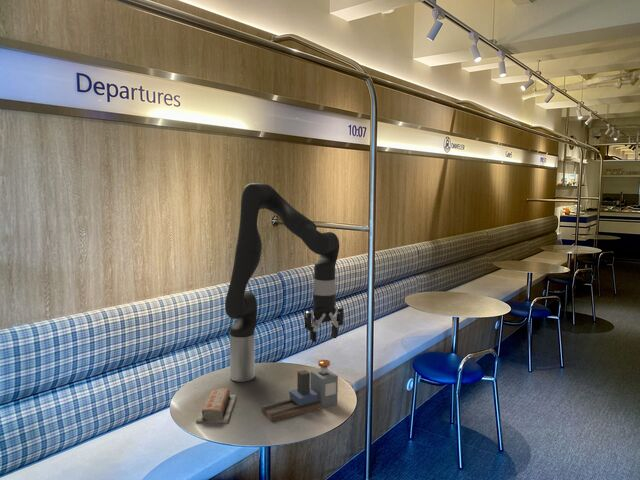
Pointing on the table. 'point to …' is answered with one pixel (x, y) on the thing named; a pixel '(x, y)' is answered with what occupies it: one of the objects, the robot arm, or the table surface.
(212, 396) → the packaged product
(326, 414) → the table surface
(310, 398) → the carriage
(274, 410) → the rail bed
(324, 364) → the orange push button
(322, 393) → the end cabinet
